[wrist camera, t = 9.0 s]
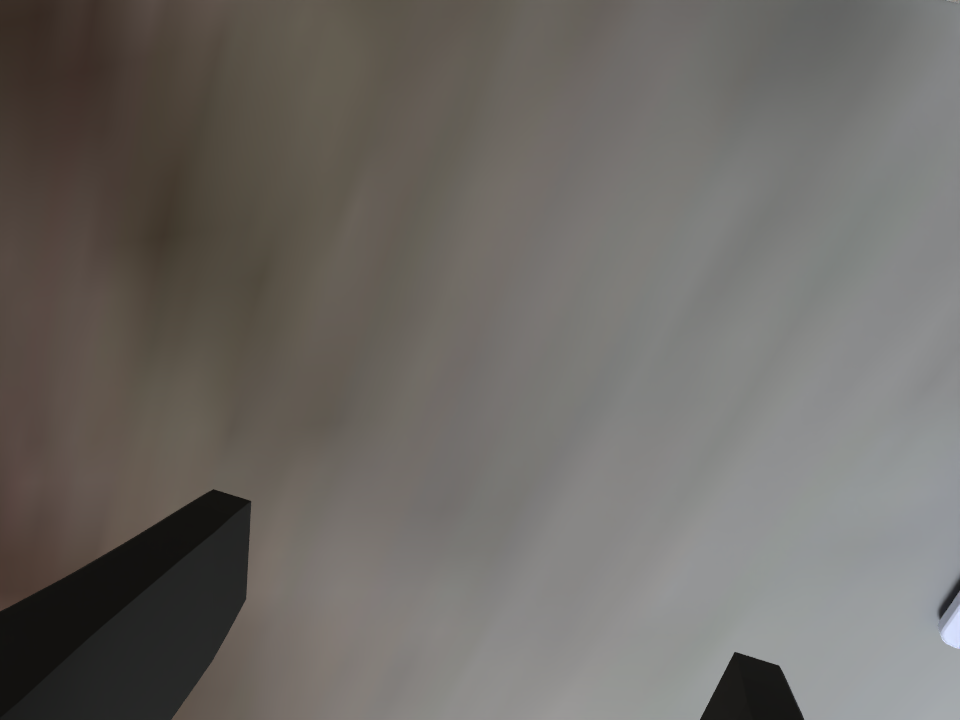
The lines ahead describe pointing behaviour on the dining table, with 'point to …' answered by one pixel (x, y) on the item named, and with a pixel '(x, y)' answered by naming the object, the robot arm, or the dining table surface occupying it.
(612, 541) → the dining table surface
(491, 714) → the dining table surface
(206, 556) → the robot arm
